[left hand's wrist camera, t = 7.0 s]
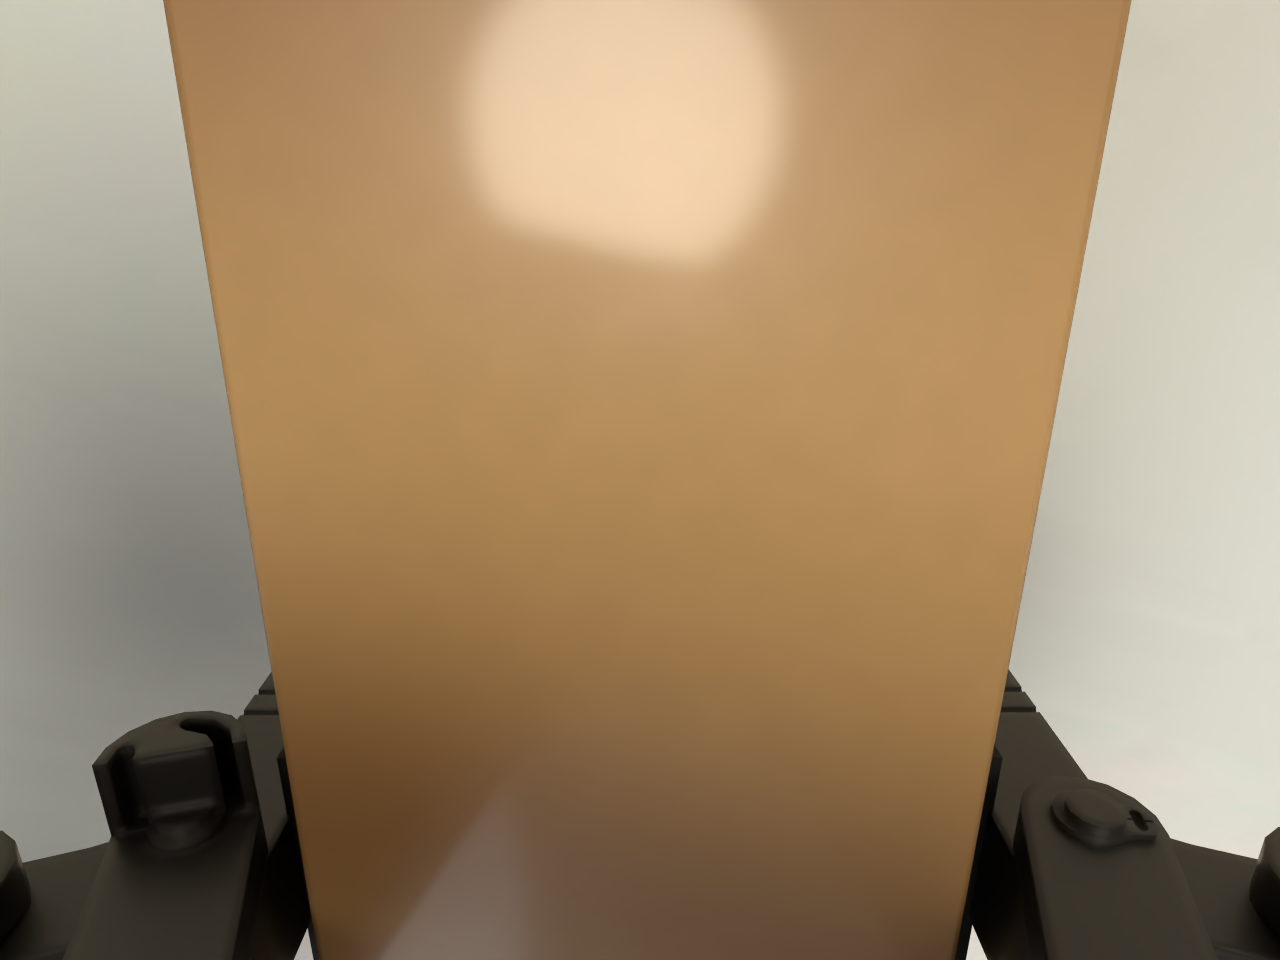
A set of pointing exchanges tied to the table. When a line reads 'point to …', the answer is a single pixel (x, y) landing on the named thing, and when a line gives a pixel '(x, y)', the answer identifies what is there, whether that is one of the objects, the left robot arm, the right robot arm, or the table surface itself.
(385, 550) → the beam
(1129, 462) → the table surface
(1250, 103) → the table surface
